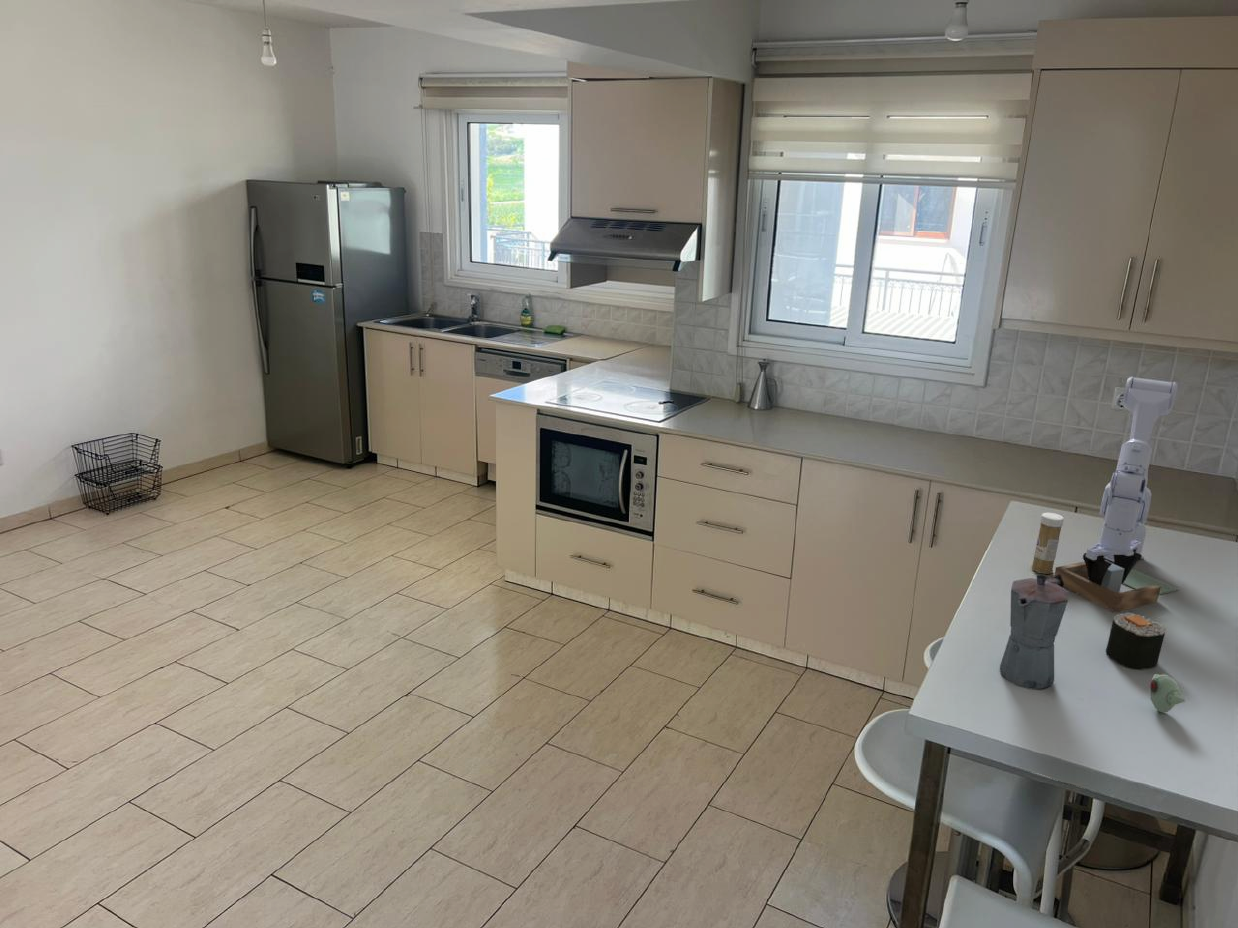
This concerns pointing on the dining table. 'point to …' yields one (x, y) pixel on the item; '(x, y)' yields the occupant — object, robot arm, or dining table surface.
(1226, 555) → the dining table surface
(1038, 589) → the moka pot
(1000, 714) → the dining table surface
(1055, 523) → the sprinkles bottle
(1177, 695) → the pale green rounded piece
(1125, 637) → the sushi
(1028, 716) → the dining table surface
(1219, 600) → the dining table surface
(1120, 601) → the walnut stall
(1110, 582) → the slate block
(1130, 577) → the green mat
